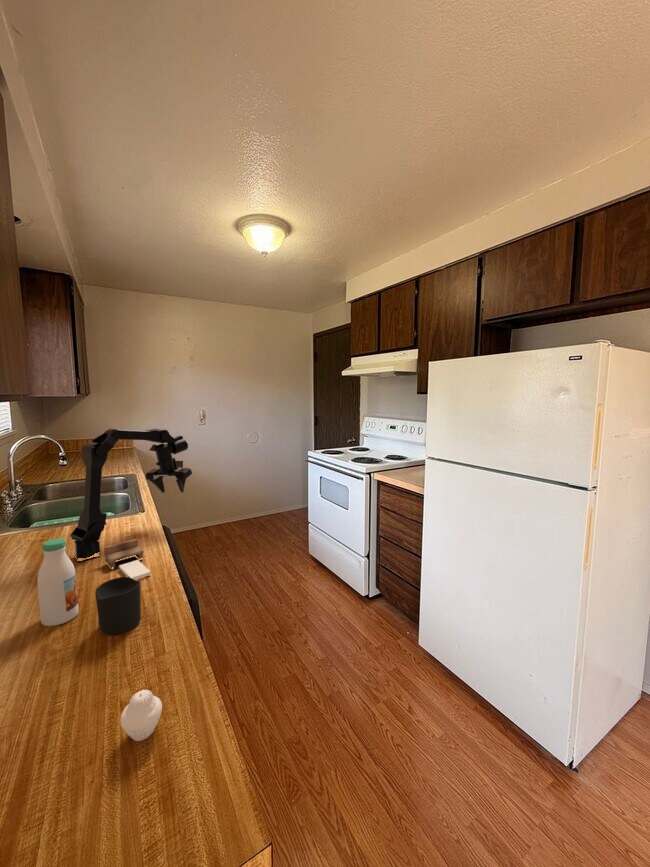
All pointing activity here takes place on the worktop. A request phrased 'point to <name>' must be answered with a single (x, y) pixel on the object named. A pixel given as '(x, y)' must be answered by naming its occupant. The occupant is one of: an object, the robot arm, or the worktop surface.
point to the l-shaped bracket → (122, 551)
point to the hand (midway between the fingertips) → (173, 492)
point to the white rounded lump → (141, 715)
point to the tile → (135, 570)
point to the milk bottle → (57, 585)
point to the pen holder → (118, 605)
